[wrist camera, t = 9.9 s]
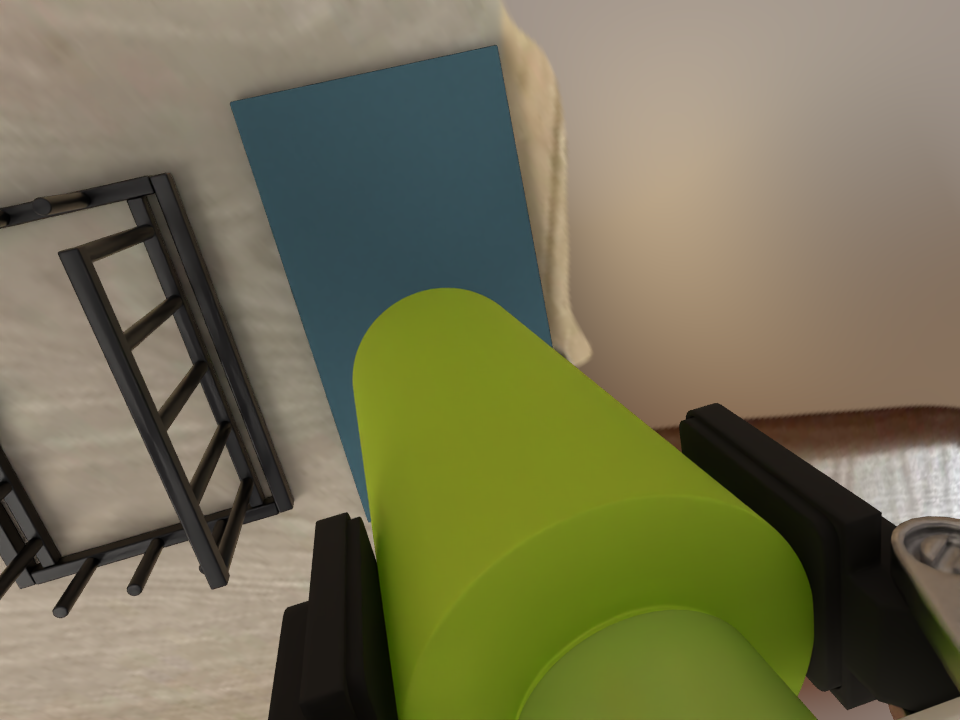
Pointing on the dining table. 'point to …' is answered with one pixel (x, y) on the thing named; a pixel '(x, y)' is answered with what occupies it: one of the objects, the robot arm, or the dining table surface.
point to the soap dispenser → (558, 540)
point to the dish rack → (149, 402)
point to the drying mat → (392, 204)
